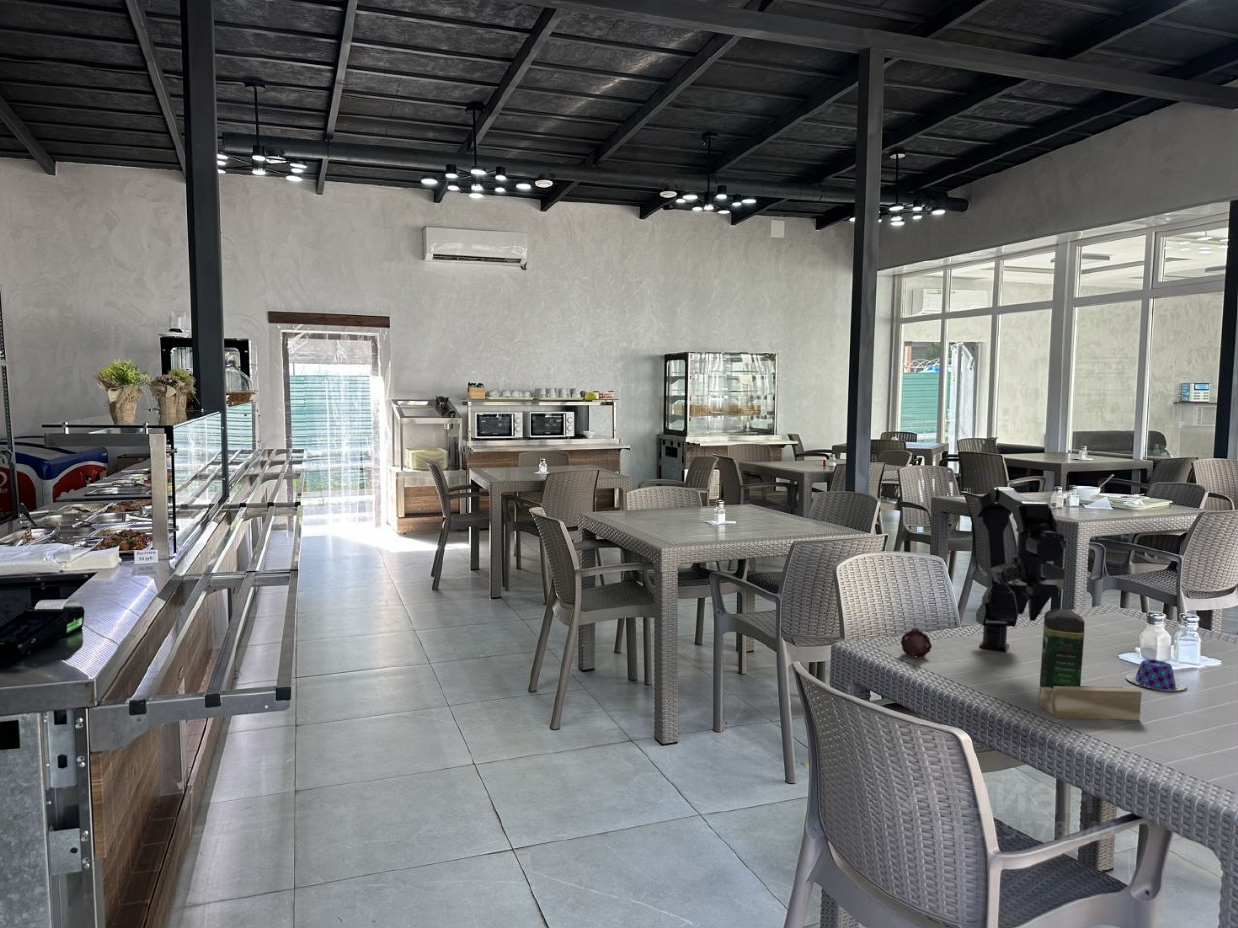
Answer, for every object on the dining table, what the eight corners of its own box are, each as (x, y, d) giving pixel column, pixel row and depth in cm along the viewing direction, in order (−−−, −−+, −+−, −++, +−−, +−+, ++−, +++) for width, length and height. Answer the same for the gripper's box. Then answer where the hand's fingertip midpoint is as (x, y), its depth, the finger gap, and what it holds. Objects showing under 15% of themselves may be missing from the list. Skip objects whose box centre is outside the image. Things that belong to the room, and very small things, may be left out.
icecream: (938, 641, 203) (931, 630, 217) (908, 631, 204) (902, 620, 219) (930, 668, 203) (922, 655, 218) (899, 657, 205) (894, 645, 219)
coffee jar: (1083, 702, 181) (1088, 618, 179) (1042, 696, 184) (1047, 614, 182) (1075, 687, 190) (1081, 608, 188) (1037, 683, 193) (1042, 604, 191)
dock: (1039, 705, 178) (1041, 678, 178) (1119, 707, 178) (1121, 679, 178) (1056, 717, 171) (1058, 689, 171) (1139, 719, 171) (1141, 691, 171)
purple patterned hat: (1128, 672, 203) (1129, 651, 202) (1187, 683, 195) (1189, 661, 195) (1122, 685, 193) (1123, 663, 193) (1184, 697, 186) (1186, 674, 185)
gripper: (980, 545, 209) (976, 606, 210) (1013, 560, 191) (1009, 627, 192) (1024, 546, 209) (1021, 607, 210) (1062, 561, 190) (1058, 628, 192)
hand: (1026, 617), depth 201 cm, fingers open, 6 cm apart
